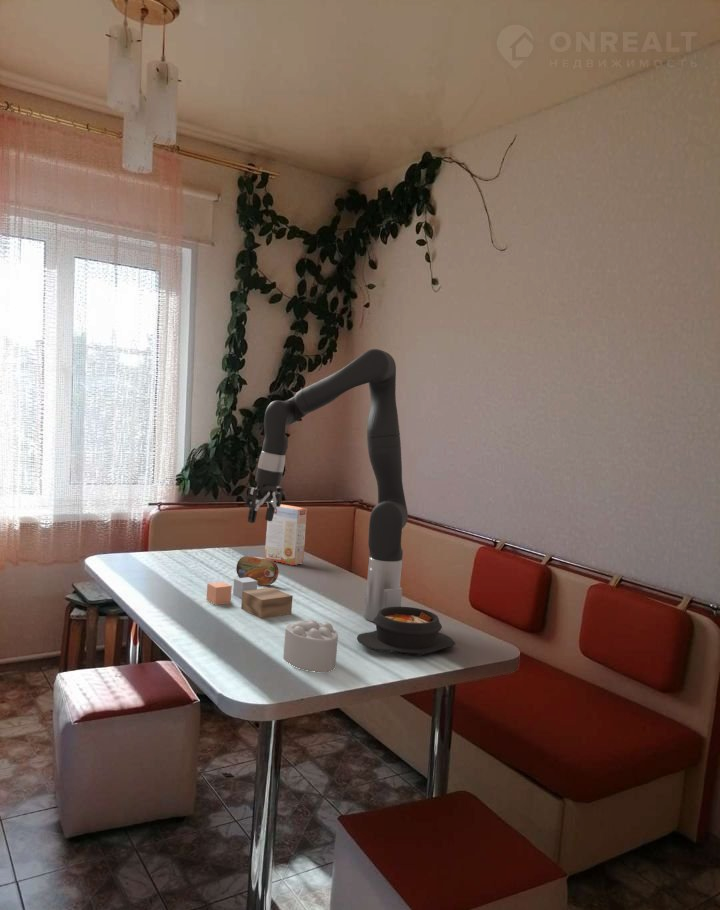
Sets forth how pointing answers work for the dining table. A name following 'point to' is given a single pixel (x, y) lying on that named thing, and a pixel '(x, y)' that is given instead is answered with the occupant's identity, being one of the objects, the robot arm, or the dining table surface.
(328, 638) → the lumpy-topped squat cylinder
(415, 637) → the casserole
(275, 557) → the cracker box
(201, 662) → the dining table surface
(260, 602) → the walnut block
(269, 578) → the tin
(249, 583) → the grey-blue cube
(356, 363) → the robot arm
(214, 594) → the terracotta cube
